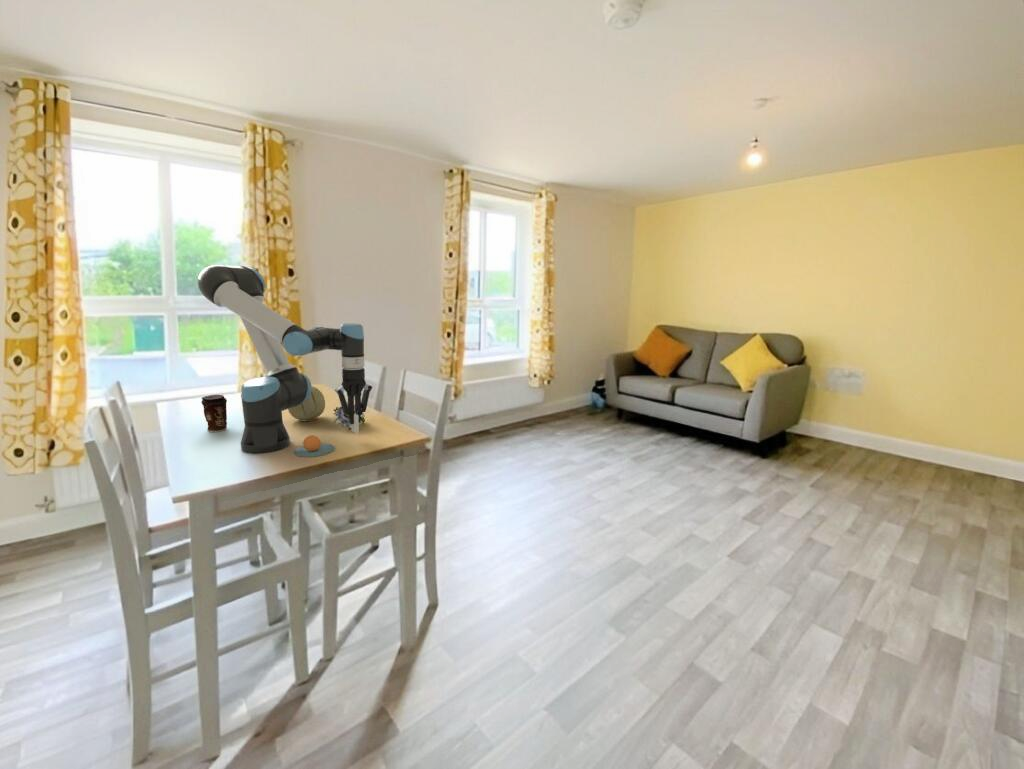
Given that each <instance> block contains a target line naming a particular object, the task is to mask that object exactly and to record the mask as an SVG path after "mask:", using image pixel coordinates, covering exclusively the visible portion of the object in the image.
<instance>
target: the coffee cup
mask: <svg viewBox="0 0 1024 769" xmlns="http://www.w3.org/2000/svg"><path fill="white" fill-rule="evenodd" d="M227 401H228V400H227V398H225V396H224V395H223V394H210V395H205V396H202V397H201V402H200V403H201V405H202V407H203V415H204V418H205V421H206V423H207V432H209V431H213V432H212V433H215V432H214V431H218V432H223V431H222V430H224V431H225V429H226V430H227V428H228V422H227V420H228V417H227Z"/></svg>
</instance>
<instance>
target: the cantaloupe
mask: <svg viewBox="0 0 1024 769" xmlns="http://www.w3.org/2000/svg"><path fill="white" fill-rule="evenodd" d="M311 386H312V385H311ZM325 408H326V400H325V396H324V395H323V392H322V391H321V390H320V389H319V388H317V387H316V386H312V391H311V394H310V397H309V398H308V400H307V401H305V402H304V403H302V404H300V405H298V406H294V407H291V408H289V409H287V411H288V413H289V414H290V415H291V417H293V418H294V419H296V420H298V421H303V422H310V421H313V420H315V419H316V418H318V417H320V416H322V414H323V413H324V411H325Z"/></svg>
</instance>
